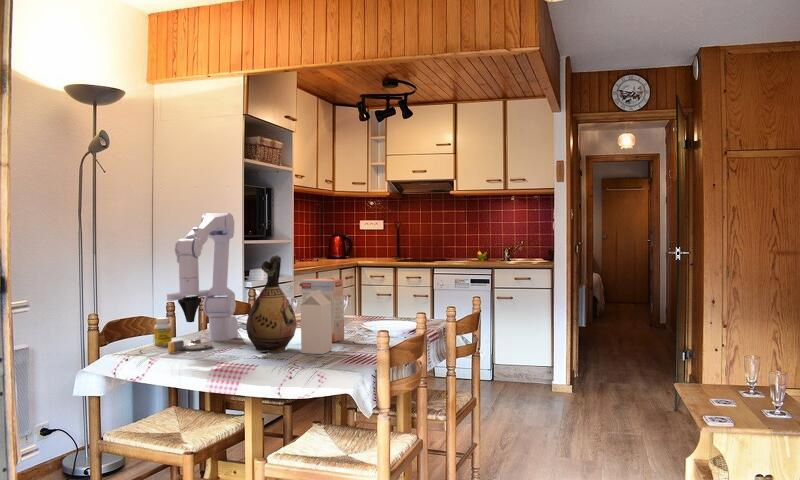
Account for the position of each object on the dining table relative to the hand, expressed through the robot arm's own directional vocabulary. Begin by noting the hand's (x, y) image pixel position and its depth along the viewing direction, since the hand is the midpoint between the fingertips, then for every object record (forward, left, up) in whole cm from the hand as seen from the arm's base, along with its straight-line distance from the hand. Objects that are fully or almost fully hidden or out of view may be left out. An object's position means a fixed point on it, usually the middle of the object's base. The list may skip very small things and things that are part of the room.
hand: (190, 321), depth 205 cm
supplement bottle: (-7, -20, -11) cm, 24 cm away
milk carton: (-20, +33, -11) cm, 40 cm away
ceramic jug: (-17, +18, -11) cm, 27 cm away
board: (-6, -4, -10) cm, 13 cm away
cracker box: (-39, +22, -11) cm, 46 cm away
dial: (-4, -4, -9) cm, 11 cm away
